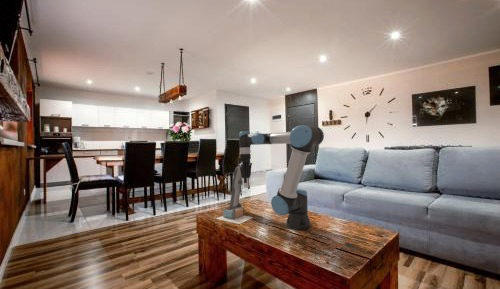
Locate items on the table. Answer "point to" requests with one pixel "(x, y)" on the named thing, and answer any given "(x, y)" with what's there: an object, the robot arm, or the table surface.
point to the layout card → (236, 220)
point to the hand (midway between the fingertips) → (246, 187)
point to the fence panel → (239, 212)
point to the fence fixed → (229, 213)
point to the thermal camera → (236, 190)
